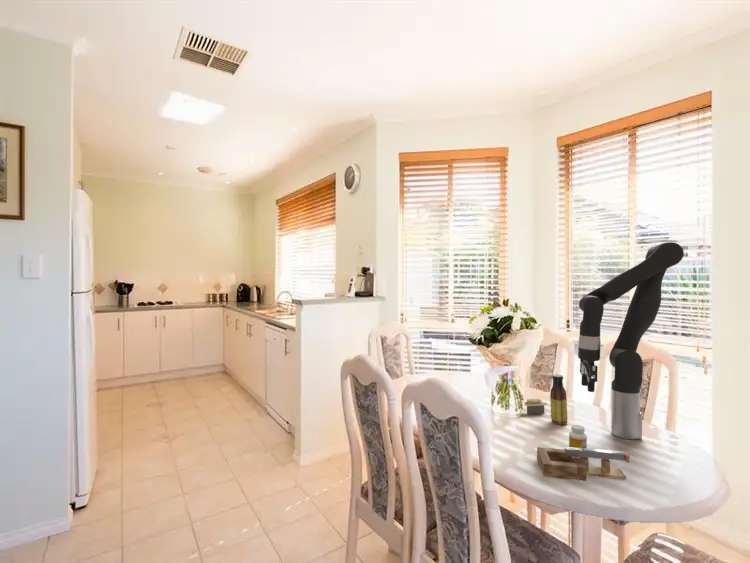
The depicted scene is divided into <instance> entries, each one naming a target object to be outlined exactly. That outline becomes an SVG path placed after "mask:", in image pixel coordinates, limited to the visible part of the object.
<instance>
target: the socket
mask: <svg viewBox="0 0 750 563" xmlns="http://www.w3.org/2000/svg"><path fill="white" fill-rule="evenodd" d="M536 460H537V462H538V465H539V468H540V471H541V474H542V476H543V477H544V478H554V479H562V480H563V479H564V480H574V481H581V480H582V481H583V482H587V476H586V466H585V465H584V463H583V461H582V460H581V458H580V457H577V456H566V454H565V448H563V449H562V448H553V447H552V448H551V447H541V446H537V447H536Z"/></svg>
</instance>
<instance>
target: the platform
mask: <svg viewBox="0 0 750 563" xmlns="http://www.w3.org/2000/svg"><path fill="white" fill-rule="evenodd" d="M523 403H524V406H525V407H526V415H541V414H540V413H544V414H545V406H548V403H547V402H544V401H542V400H541V399H539V398H527V399H526V401H524V402H523Z"/></svg>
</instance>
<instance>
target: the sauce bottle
mask: <svg viewBox="0 0 750 563" xmlns="http://www.w3.org/2000/svg"><path fill="white" fill-rule="evenodd" d="M551 379H552V387H551V389H550V396H549V397H550V419H551V423H553V424H555V425H558V426H564V425H567V424H568V402H567V401H568V400H567V391H566V389H565V387H564V384H563V380H564V376H563V375H562V374H558V373H557V374H555V373H553V374H552V375H551Z"/></svg>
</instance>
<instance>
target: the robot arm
mask: <svg viewBox="0 0 750 563" xmlns="http://www.w3.org/2000/svg"><path fill="white" fill-rule="evenodd" d="M648 248H649V249H648V250H647V251H646V254H645V259H644V260H643V261H641V262H639V263H638V264H636V265H634V266H633V267H630V268H628V269H627V270H625V271H623V272H621V273H619V274H617V275H615V276H614V277H612V278H611V279H610V280H608V281H607V282H605V283H603V284H602V285H601V286H600V287H598V288H596V289H594V290H592V291H590V292H588V293H587V294H585V295H584V296H582V297H581V298H580V300H579V302H578V307H579V309H580V310H581V311H582V312H583V313H582V320H581V321H580V324H579V337H578V350H577V357H578V359H579V360H580V364H579V373H580V376H581V386H583V387H584V386H585V387H587V391H588V392H589V393H594V392H595V389H596V388H595V387H596V386H595V385H596V383H597V382H598V371H599V370H598V365H595V362H598V361H600V360H601V323H602V320H603V316H604V309H605V308H604V307H605V306H604V305H606V304H607V303H610V302H614V301H616V300H617V299H620V298H621V297H623V295H625V294H626V293H628V292H629V291H631V290H633V289H634V288H635V290H634V293H633V296H632V297H631V301H630V303H629V305H628V309H627V312H626V314H625V318H624V320H623V323H622V326H621V329H620V331H619V335H618V336H617V338H616V341H615V342H614V344H613V346H612V348H611V350H610V353H609V357H608V359H609V360H608V361H609V363H610V364H611V367H613V368H614V378H613V380H612V381H611V390H610V391H611V392H610V393H611V394H610V395H611V397H610V398H611V401H610V402H611V404H610V405H611V406H610V407H611V411H610V412H611V420H610V421H611V422H610V423H611V424H610V425H611V434H612V435H614V436H615V437H618V438H620V439H625V440H638V439H639V440H641V439H643V413H642V412H641V387H642V386H643V373H644V370H643V369H644V368H643V365H644V363H643V359H642V356H641V355H640V354H639V352H637V350H638V346H639V344H640V341H641V339H642V338H643V336H644V334H645V333H646V332H647V330H649V329H650V327H651V326H652V324H653V323H654V322H655V320H656V318H657V315H658V313H659V310H660V307H661V303H662V284H663V279H664V277H665V274H666V272H667V271H668V269H670V268H671V267H673V266H675V265H677V264H679V263H680V262H681V261H682V260H683V257H684V254H685V253H684V252H685V250H684V249H683V247H682V245H681V244H680V243H679V244H678V243H677V242H675V241H674V242H673V241H664V242H657V243H654V244H652V245H651V246H650V247H648Z"/></svg>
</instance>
